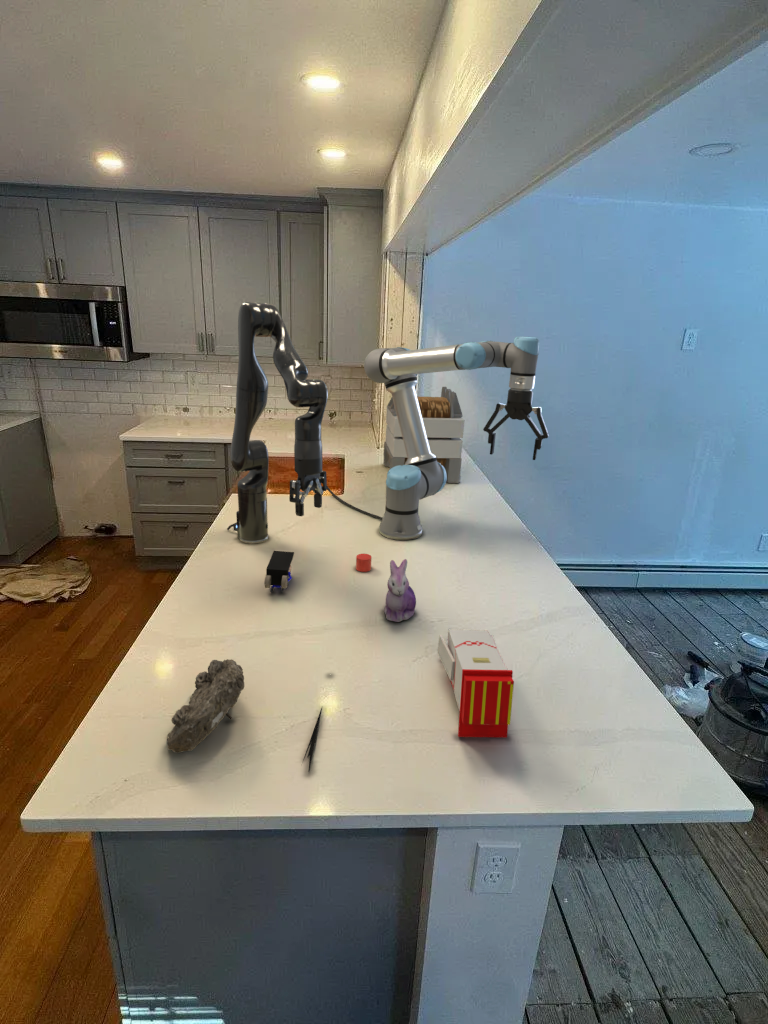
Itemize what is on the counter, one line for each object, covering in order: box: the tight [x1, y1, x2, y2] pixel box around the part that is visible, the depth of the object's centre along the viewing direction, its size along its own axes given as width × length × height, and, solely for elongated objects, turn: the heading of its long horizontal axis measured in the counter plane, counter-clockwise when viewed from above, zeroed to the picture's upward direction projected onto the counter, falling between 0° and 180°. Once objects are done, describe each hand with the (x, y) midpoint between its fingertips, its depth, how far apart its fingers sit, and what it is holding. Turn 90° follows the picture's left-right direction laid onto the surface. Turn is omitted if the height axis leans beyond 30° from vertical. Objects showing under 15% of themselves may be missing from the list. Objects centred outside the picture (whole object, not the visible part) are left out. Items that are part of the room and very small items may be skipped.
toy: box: [437, 628, 515, 738], centre depth 117 cm, size 12×13×30 cm
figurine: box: [384, 558, 417, 623], centre depth 145 cm, size 9×10×15 cm
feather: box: [301, 673, 332, 771], centre depth 108 cm, size 2×28×2 cm
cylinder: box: [355, 553, 373, 573], centre depth 171 cm, size 5×5×4 cm
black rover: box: [264, 550, 295, 594], centre depth 159 cm, size 7×8×15 cm
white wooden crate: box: [383, 386, 465, 484], centre depth 268 cm, size 34×33×41 cm
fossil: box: [166, 658, 245, 754], centre depth 106 cm, size 22×10×15 cm
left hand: (309, 511), depth 158 cm, fingers open, 8 cm apart
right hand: (512, 456), depth 182 cm, fingers open, 13 cm apart
